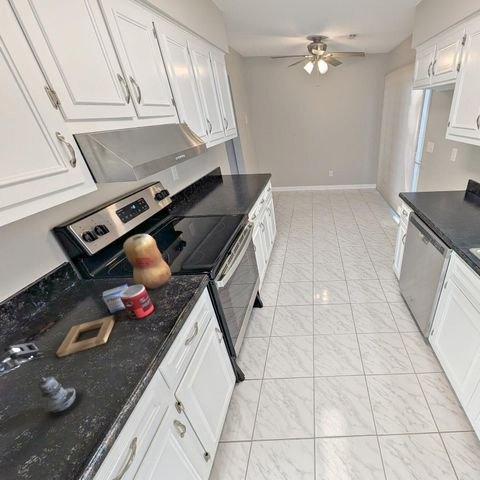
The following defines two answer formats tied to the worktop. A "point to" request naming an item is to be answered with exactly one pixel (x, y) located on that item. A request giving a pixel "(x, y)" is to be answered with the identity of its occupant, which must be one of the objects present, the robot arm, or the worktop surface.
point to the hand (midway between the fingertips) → (18, 370)
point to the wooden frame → (71, 346)
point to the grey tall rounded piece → (56, 395)
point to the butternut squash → (146, 261)
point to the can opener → (44, 329)
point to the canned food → (136, 301)
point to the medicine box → (114, 298)
